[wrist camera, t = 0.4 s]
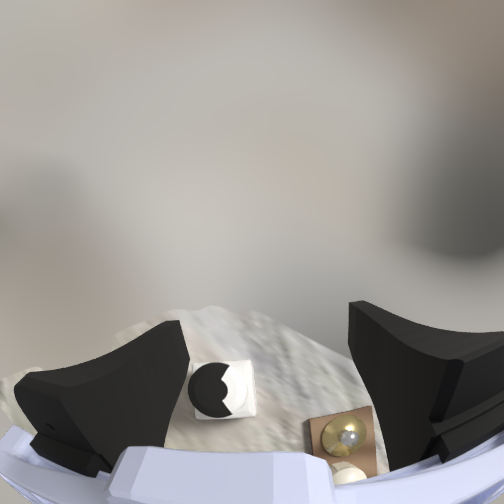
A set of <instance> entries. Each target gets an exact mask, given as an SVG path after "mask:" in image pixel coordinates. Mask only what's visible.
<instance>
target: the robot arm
mask: <svg viewBox="0 0 504 504" xmlns="http://www.w3.org/2000/svg"><path fill="white" fill-rule="evenodd" d="M348 345H349V348H350V352H351V355H352V358H353V361H354V363H355V366H356V368H357V370H358V372H359V374H360V376H361V378H362V380H363V382H364V384H365V387H366V389H367V391H368V393H369V395H370V397H371V399H372V402H373V404H374V407H375V410H376V414H377V417H378V420H379V424H380V428H381V431H382V435H383V439H384V444H385V448H386V453H387V458H388V463H389V470H390V472H388V473H385V474H382V475H378V476H375V477H371V478H367V479H363V480H359V481H355V482H350V483H345V484H340V485H334V483H333V477H332V471H331V469H330V467H329V465H328V463H327V462H326V460H324V459H321V458H318V457H315V456H312V455H309V454H306V453H303V452H289V451H262V452H207V451H191V450H180V449H170V448H164V443H165V438H166V433H167V429H168V425H169V421H170V418H171V415H172V412H173V410H174V407H175V404H176V402H177V399H178V397H179V394H180V392H181V389H182V387H183V384H184V381H185V379H186V375H187V371H188V366H189V361H190V357H189V354H188V350H187V347H186V343H185V340H184V336H183V333H182V329H181V325H180V321H179V320H174V321H165V322H163V323H161V324H159V325H157V326H155V327H154V328H152V329H150V330H149V331H147V332H145V333H144V334H142V335H141V336H139V337H137V338H136V339H134V340H132V341H130V342H129V343H127V344H125V345H123V346H122V347H120V348H118V349H116V350H114V351H112V352H110V353H108V354H106V355H103V356H101V357H98V358H96V359H93V360H90V361H87V362H84V363H81V364H78V365H74V366H70V367H66V368H61V369H56V370H49V371H38V372H29V373H27V374H26V375H25V376H24V377H23V378H22V379H21V380H20V381H19V382H18V383H17V384H16V385H15V387H14V394H15V398H16V400H17V403H18V404H19V406H20V408H21V409H22V411H23V412H24V414H25V415H26V417H27V418H28V420H29V421H30V422H31V424H32V425H33V426H34V428H35V429H36V430H37V432H38V433H37V434H36V436H35V437H34V436H33V435H32V434H30V433H29V432H27V431H26V430H24V429H22V428H20V427H18V426H16V425H12V426H11V428H10V429H9V430H8V431H7V433H6V434H5V435H4V436H3V437H2V439H1V440H0V476H1V477H2V478H3V479H4V480H5V481H6V482H7V483H9V484H10V485H11V486H12V487H13V488H14V489H15V490H16V491H17V492H18V493H20V494H21V495H22V496H23V497H25V498H26V499H27V500H29V501H30V502H32V503H33V504H489V503H490V502H492V501H493V500H495V499H496V498H497V497H499V496H500V495H501V494H503V493H504V332H503V331H501V332H486V333H470V332H469V333H468V332H456V331H449V330H443V329H437V328H433V327H429V326H425V325H421V324H418V323H415V322H412V321H410V320H407V319H404V318H402V317H399V316H397V315H395V314H392V313H390V312H388V311H386V310H384V309H382V308H379V307H377V306H375V305H373V304H371V303H368V302H366V301H356V302H350V303H349V329H348Z"/></svg>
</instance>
